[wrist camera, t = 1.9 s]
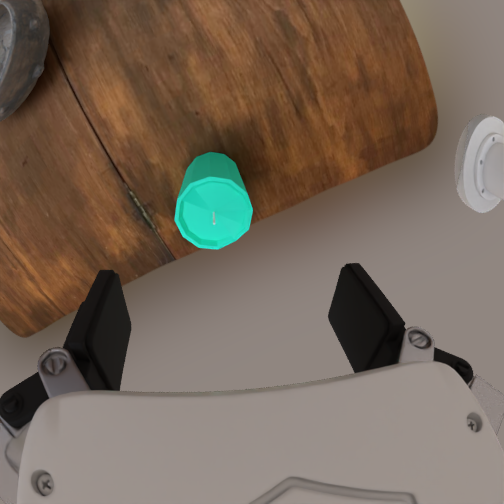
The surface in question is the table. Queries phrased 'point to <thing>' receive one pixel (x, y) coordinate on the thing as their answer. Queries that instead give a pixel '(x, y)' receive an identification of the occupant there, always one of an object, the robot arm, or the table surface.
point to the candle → (213, 202)
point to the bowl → (21, 50)
